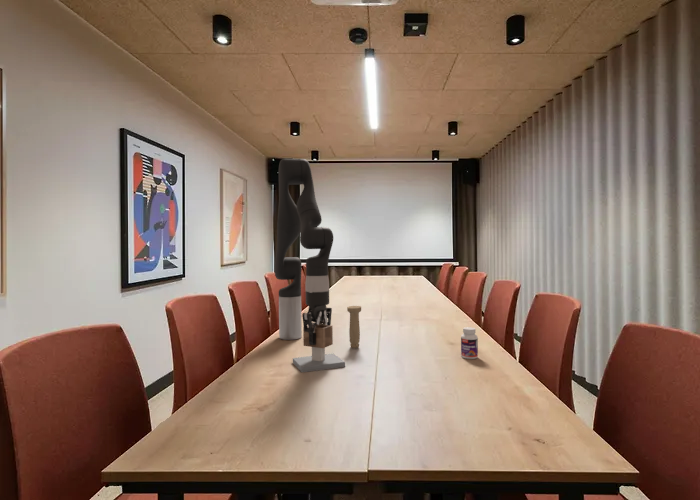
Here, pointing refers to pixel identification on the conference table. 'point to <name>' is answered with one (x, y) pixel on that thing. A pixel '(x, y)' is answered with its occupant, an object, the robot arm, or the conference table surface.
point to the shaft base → (318, 361)
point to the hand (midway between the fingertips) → (318, 342)
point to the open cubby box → (320, 336)
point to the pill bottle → (469, 343)
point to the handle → (354, 325)
